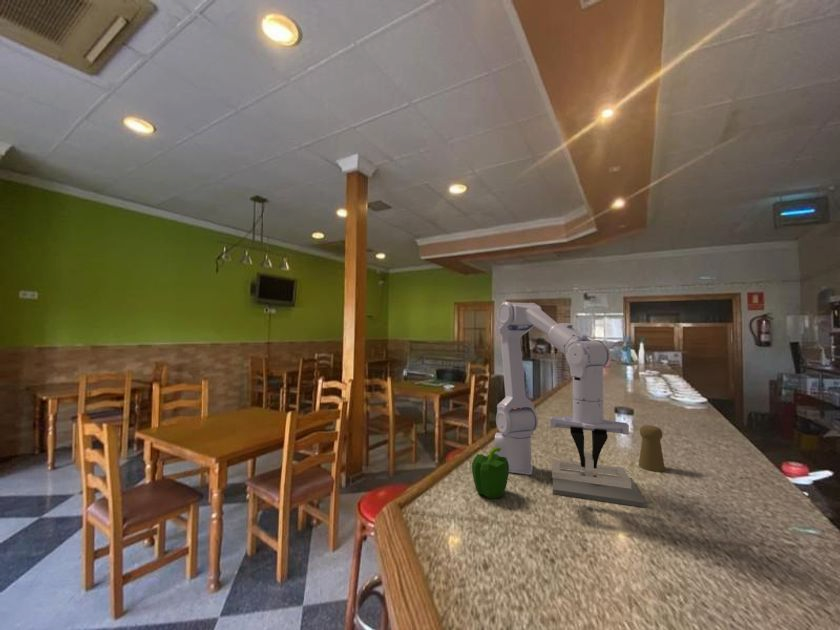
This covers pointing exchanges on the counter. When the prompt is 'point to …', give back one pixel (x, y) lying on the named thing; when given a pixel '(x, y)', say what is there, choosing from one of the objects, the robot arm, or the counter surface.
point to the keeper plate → (598, 491)
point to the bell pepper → (490, 474)
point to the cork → (651, 449)
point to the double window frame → (590, 472)
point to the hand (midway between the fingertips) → (588, 466)
